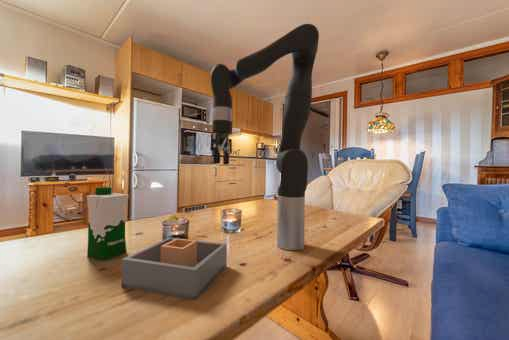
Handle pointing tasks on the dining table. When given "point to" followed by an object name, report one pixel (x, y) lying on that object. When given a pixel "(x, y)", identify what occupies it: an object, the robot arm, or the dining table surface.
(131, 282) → the big crate
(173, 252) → the box
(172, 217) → the lemon
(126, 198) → the milk carton
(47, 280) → the dining table surface
